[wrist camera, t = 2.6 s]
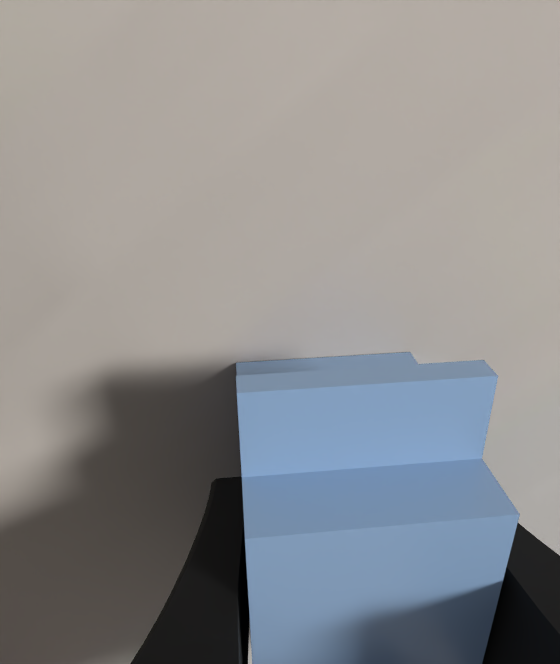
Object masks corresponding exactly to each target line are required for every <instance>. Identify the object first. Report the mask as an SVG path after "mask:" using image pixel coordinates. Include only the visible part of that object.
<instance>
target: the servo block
mask: <svg viewBox="0 0 560 664" xmlns="http://www.w3.org/2000/svg"><path fill="white" fill-rule="evenodd" d="M236 372H237V376H236V388H237V405H238V422H239V439H240V456H241V472H242V491H243V511H244V531H245V549H246V566H247V582H248V599H249V615H250V632H251V648H252V664H482V662H483V658H484V654H485V650H486V646H487V642H488V638H489V634H490V631H491V627H492V623H493V619H494V615H495V611H496V607H497V603H498V599H499V595H500V591H501V587H502V583H503V579H504V575H505V571H506V567H507V563H508V559H509V555H510V551H511V547H512V543H513V539H514V535H515V531H516V527H517V523H518V519H519V515H520V514H519V513H518V511H517V510H516V508H515V507H514V505H513V504H512V502H511V501H510V499H509V498H508V496H507V495H506V493H505V492H504V490H503V489H502V488H501V486H500V485H499V483H498V482H497V480H496V479H495V477H494V476H493V474H492V473H491V471H490V470H489V468H488V467H487V465H486V464H485V462H484V461H483V459H482V455H483V450H484V445H485V440H486V434H487V429H488V424H489V419H490V414H491V409H492V404H493V399H494V394H495V389H496V384H497V378H498V375H497V374H496V373H495V372H494V371H493V370H492V369H491V368H490V367H489V366H488V364H487V363H486V362H485V361H484V360H476V361H461V362H445V363H429V364H418V363H417V362H416V360H415V359H414V357H413V356H412V354H411V353H410V352H403V353H387V354H370V355H354V356H338V357H322V358H305V359H289V360H273V361H256V362H240V363H236Z"/></svg>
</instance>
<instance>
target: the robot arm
mask: <svg viewBox="0 0 560 664" xmlns="http://www.w3.org/2000/svg"><path fill="white" fill-rule="evenodd" d="M248 640H249V599H248V582H247V566H246V549H245V531H244V511H243V491H242V477H232V478H219V479H216V480H215V481H213V482H212V484H211V490H210V495H209V499H208V503H207V506H206V510H205V513H204V516H203V519H202V522H201V525H200V528H199V530H198V533H197V535H196V538H195V540H194V543H193V545H192V548H191V550H190V553H189V555H188V558H187V560H186V562H185V565H184V567H183V569H182V571H181V573H180V575H179V577H178V579H177V581H176V584H175V586H174V588H173V590H172V592H171V594H170V596H169V598H168V600H167V602H166V604H165V606H164V608H163V609H162V611H161V613H160V615H159V617H158V619H157V621H156V622H155V624H154V626H153V628H152V629H151V631H150V633H149V635H148V636H147V638H146V640H145V641H144V643H143V645H142V646H141V648H140V650H139V651H138V653H137V654H136V656H135V658H134V659H133V661H132V662H131V664H248ZM482 664H560V556H559V555H558V554H557V553H555V552H554V551H553V550H551V549H550V548H549V547H547V546H546V545H545V544H544V543H542V542H541V541H540V540H538V539H537V538H536V537H535V536H533V535H532V534H531V533H530V532H528V531H527V530H526V529H525V528H524V527H522V526H521V525H520V524H519V523H517V527H516V531H515V535H514V539H513V543H512V547H511V551H510V555H509V559H508V563H507V567H506V571H505V575H504V579H503V583H502V587H501V591H500V595H499V599H498V603H497V607H496V611H495V615H494V619H493V623H492V627H491V631H490V634H489V638H488V642H487V646H486V650H485V654H484V658H483V662H482Z"/></svg>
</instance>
